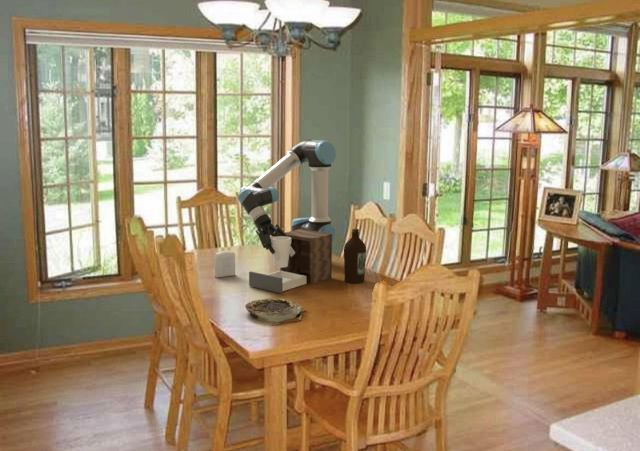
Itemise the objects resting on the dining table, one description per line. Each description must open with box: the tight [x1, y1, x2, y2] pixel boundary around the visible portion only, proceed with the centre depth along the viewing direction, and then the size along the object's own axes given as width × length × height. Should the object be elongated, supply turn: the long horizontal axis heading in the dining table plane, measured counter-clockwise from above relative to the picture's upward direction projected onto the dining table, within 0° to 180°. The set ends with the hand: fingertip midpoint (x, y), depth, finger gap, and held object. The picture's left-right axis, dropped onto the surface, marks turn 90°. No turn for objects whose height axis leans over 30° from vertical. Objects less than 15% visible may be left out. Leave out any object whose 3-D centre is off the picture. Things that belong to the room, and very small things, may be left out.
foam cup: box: [270, 236, 291, 269], centre depth 300 cm, size 10×9×13 cm
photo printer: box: [214, 250, 236, 278], centre depth 317 cm, size 10×4×12 cm, turn 123°
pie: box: [244, 297, 306, 326], centre depth 260 cm, size 28×27×5 cm
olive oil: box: [343, 228, 367, 284], centre depth 309 cm, size 11×11×25 cm
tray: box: [248, 270, 308, 294], centre depth 301 cm, size 20×19×7 cm
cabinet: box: [279, 229, 333, 285], centre depth 315 cm, size 15×19×22 cm
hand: (286, 256), depth 298 cm, fingers closed on foam cup, 9 cm apart
